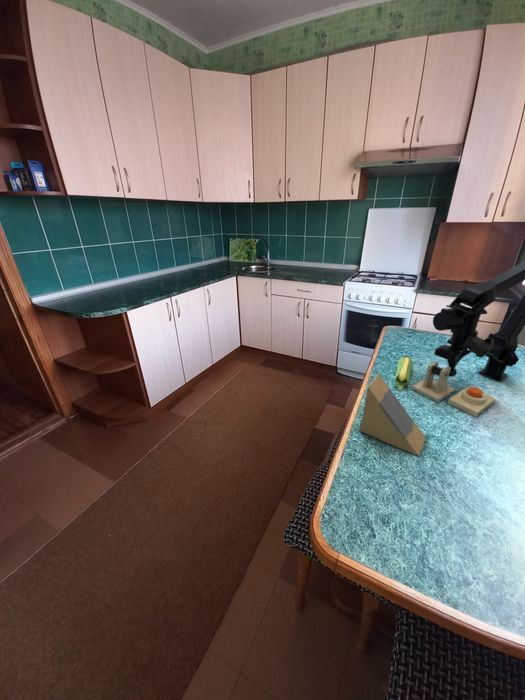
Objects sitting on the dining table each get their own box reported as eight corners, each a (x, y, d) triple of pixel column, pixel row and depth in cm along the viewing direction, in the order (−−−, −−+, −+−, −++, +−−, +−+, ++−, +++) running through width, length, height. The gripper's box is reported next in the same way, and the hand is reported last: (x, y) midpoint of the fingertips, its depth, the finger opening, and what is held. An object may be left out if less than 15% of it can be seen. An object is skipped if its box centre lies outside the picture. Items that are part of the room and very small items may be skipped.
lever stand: (427, 379, 103) (434, 356, 99) (454, 391, 96) (462, 367, 92) (411, 388, 98) (417, 365, 94) (437, 402, 92) (445, 377, 87)
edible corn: (412, 366, 112) (415, 355, 109) (407, 393, 96) (410, 381, 94) (398, 363, 114) (400, 352, 112) (391, 389, 98) (393, 377, 96)
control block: (466, 390, 97) (469, 381, 95) (493, 402, 91) (497, 393, 89) (447, 403, 91) (450, 394, 89) (475, 417, 85) (479, 407, 83)
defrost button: (470, 390, 92) (472, 385, 91) (483, 395, 89) (485, 391, 88) (464, 393, 90) (466, 389, 89) (477, 399, 87) (479, 395, 86)
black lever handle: (446, 374, 103) (450, 366, 102) (455, 378, 101) (459, 370, 100) (429, 373, 95) (433, 364, 94) (439, 377, 92) (443, 368, 91)
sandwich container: (419, 457, 72) (434, 409, 65) (359, 431, 81) (367, 386, 74) (426, 436, 78) (441, 391, 71) (370, 414, 87) (378, 372, 80)
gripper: (479, 343, 82) (463, 389, 89) (507, 328, 91) (490, 370, 98) (439, 330, 90) (427, 373, 97) (469, 318, 99) (456, 357, 106)
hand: (451, 368), depth 100 cm, fingers closed
